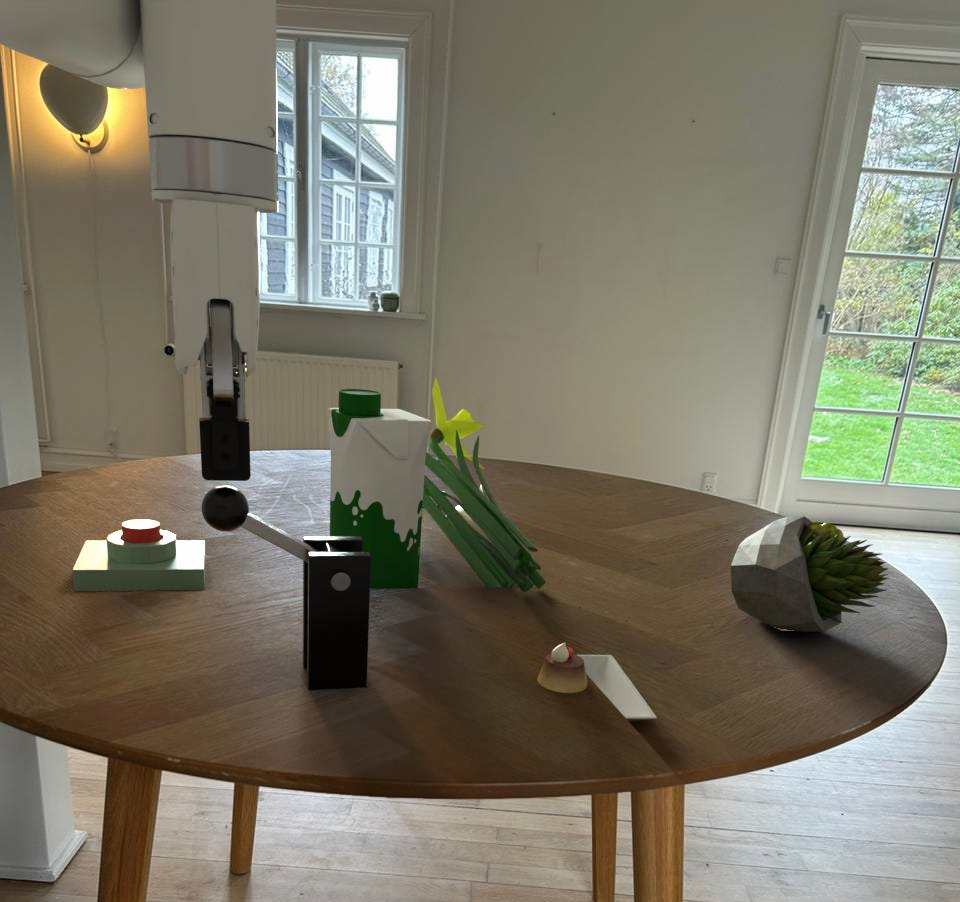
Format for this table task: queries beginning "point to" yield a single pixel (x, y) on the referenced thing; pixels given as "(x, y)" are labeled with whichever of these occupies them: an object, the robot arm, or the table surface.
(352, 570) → the bracket
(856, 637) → the table surface
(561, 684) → the dessert
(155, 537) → the button
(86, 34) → the robot arm
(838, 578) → the potted plant
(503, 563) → the daffodil flowers
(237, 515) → the lever
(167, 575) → the control block
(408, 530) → the milk carton
